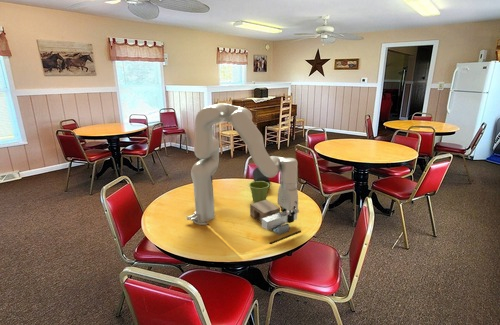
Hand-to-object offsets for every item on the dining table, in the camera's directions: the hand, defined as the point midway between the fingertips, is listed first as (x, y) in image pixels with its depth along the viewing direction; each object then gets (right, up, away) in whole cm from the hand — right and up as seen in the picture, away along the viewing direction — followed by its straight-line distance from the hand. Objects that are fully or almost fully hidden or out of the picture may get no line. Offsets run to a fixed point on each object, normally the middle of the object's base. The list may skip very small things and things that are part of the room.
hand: (287, 219), depth 138 cm
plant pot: (-13, +4, +31) cm, 34 cm away
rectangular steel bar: (-4, -1, -3) cm, 5 cm away
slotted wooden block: (-10, -2, +10) cm, 15 cm away
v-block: (-5, -6, -1) cm, 7 cm away
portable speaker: (-11, +12, +57) cm, 59 cm away
